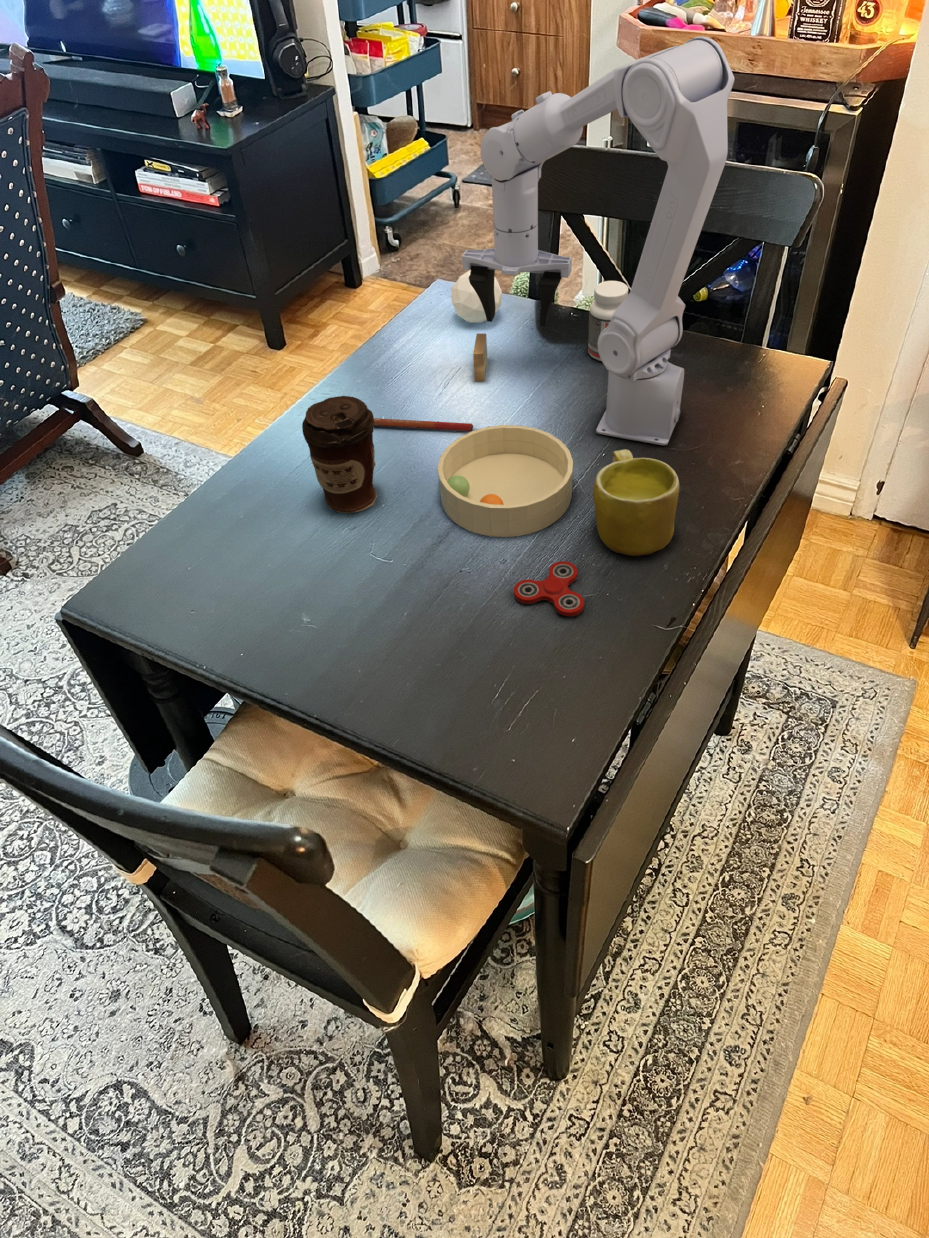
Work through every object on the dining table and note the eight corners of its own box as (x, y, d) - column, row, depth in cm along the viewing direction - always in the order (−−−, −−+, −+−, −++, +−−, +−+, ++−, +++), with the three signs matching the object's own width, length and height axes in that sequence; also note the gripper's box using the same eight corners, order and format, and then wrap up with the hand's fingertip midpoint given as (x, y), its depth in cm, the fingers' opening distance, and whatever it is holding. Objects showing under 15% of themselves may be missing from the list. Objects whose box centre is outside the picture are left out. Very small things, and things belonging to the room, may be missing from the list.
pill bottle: (629, 362, 132) (634, 297, 124) (589, 364, 132) (592, 299, 125) (624, 341, 135) (629, 277, 128) (586, 343, 136) (589, 279, 129)
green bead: (471, 494, 109) (466, 470, 110) (446, 499, 110) (442, 475, 110) (472, 499, 112) (467, 476, 113) (448, 504, 112) (443, 480, 113)
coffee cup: (374, 525, 110) (358, 436, 101) (309, 519, 112) (287, 431, 102) (392, 480, 116) (379, 392, 107) (330, 475, 118) (312, 388, 108)
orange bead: (506, 492, 107) (494, 510, 106) (509, 510, 109) (497, 527, 108) (484, 485, 108) (472, 503, 107) (488, 502, 111) (476, 520, 109)
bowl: (588, 467, 116) (589, 437, 112) (547, 549, 105) (547, 520, 102) (469, 444, 120) (467, 415, 117) (420, 521, 110) (416, 492, 107)
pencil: (473, 428, 122) (473, 422, 122) (472, 432, 122) (472, 426, 121) (338, 420, 126) (337, 415, 125) (336, 425, 125) (335, 419, 124)
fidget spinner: (509, 601, 100) (509, 592, 99) (535, 558, 105) (535, 550, 104) (577, 621, 97) (577, 613, 96) (601, 577, 102) (602, 569, 101)
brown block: (474, 381, 130) (473, 353, 127) (478, 361, 134) (476, 333, 131) (484, 381, 130) (482, 353, 127) (487, 361, 134) (486, 333, 131)
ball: (489, 338, 144) (501, 314, 136) (441, 322, 142) (450, 297, 135) (500, 296, 145) (513, 269, 137) (452, 279, 144) (462, 252, 136)
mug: (696, 554, 101) (675, 477, 95) (606, 576, 104) (581, 502, 98) (687, 501, 110) (667, 428, 105) (604, 523, 113) (582, 453, 108)
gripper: (452, 233, 116) (459, 330, 126) (564, 241, 113) (562, 340, 123) (468, 210, 121) (473, 305, 131) (576, 216, 117) (573, 314, 127)
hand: (517, 320), depth 127 cm, fingers open, 7 cm apart
